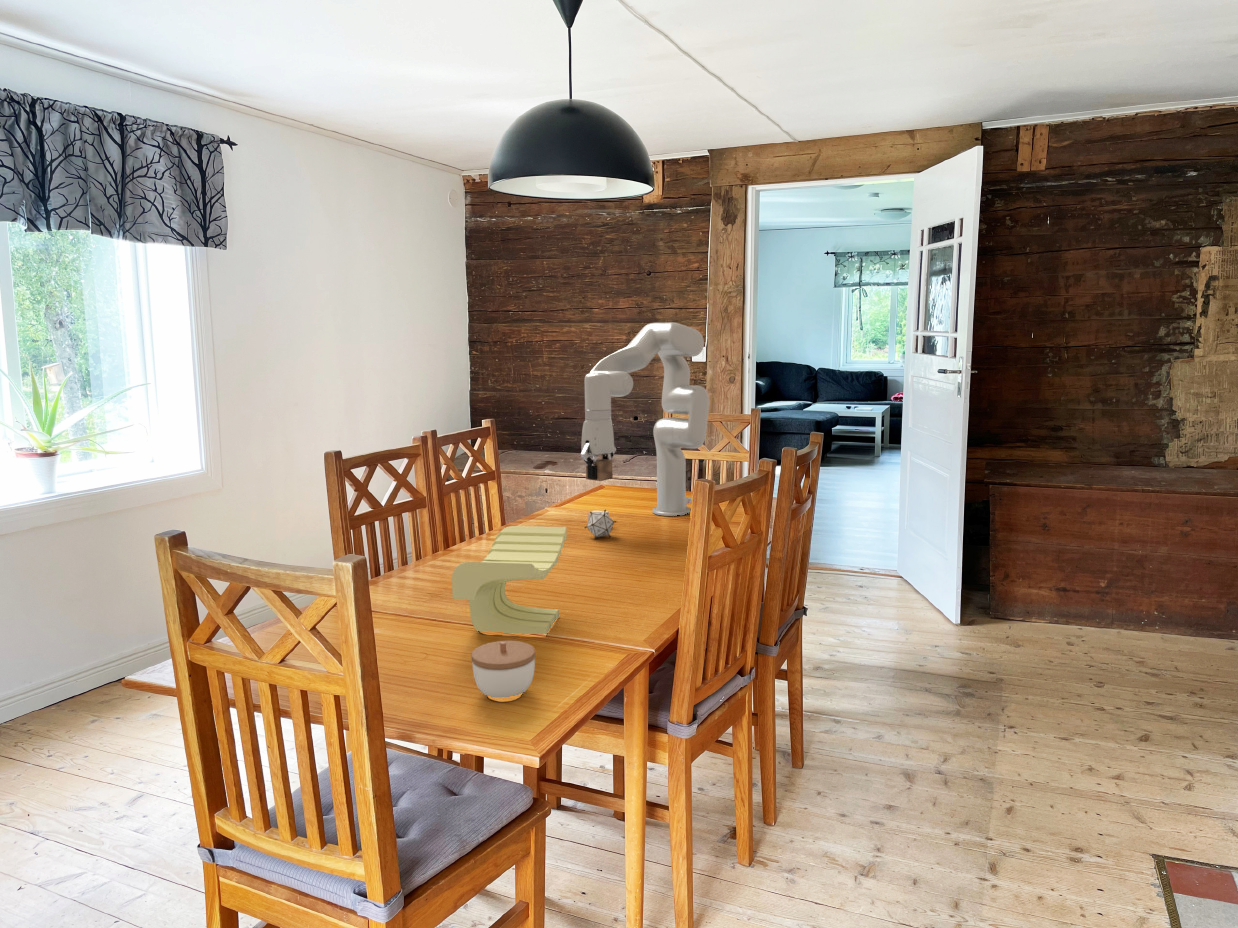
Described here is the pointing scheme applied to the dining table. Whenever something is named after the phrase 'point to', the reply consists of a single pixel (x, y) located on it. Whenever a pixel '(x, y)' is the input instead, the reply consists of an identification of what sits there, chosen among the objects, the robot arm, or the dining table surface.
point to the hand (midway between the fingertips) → (599, 476)
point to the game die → (600, 524)
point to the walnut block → (602, 470)
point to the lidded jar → (503, 668)
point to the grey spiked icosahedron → (597, 512)
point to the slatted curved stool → (510, 579)
